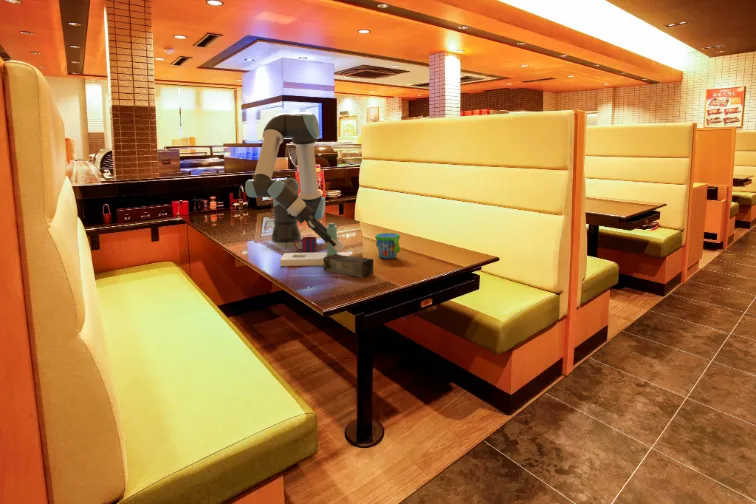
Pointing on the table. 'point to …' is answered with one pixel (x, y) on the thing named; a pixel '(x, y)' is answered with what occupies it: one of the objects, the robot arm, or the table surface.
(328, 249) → the plug
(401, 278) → the table surface
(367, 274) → the beverage carton
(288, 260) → the socket panel
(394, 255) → the sippy cup
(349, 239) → the table surface
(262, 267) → the table surface
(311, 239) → the cup
